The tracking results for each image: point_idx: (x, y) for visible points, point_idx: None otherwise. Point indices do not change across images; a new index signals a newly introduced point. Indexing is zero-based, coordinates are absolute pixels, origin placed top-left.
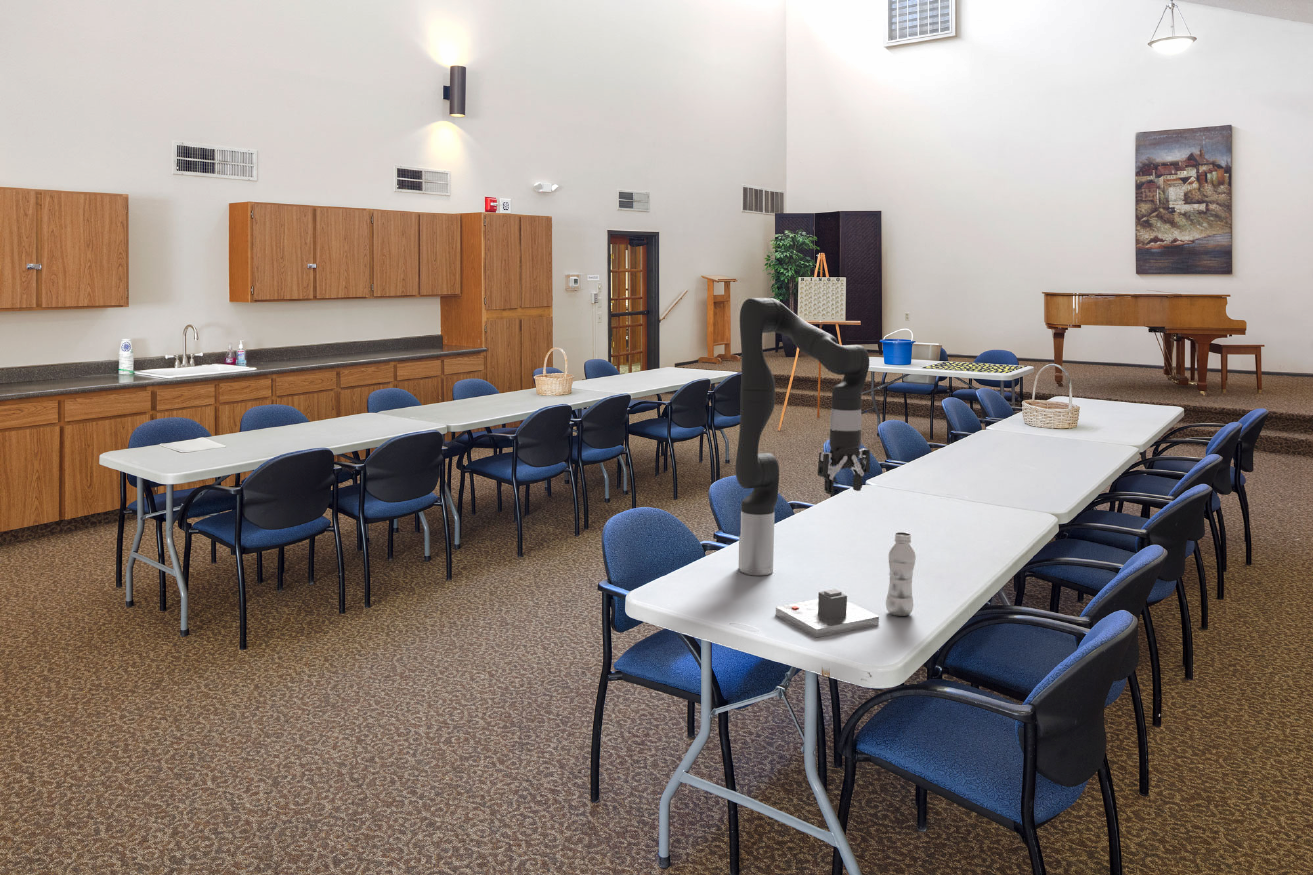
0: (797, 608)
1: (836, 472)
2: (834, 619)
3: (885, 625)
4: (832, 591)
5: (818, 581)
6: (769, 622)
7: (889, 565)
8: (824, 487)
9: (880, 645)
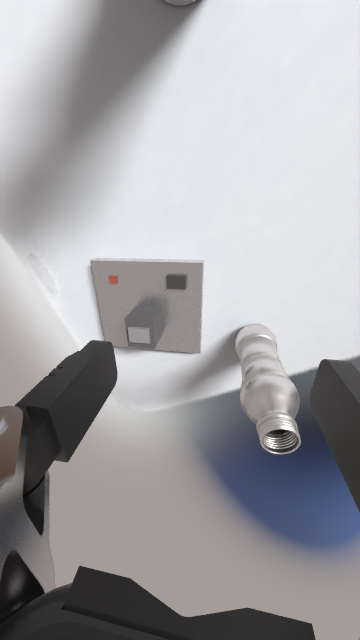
0: (115, 283)
1: (44, 550)
2: None
3: (206, 352)
4: (138, 335)
5: (266, 126)
6: (78, 277)
7: (246, 374)
8: (57, 367)
9: (161, 384)
